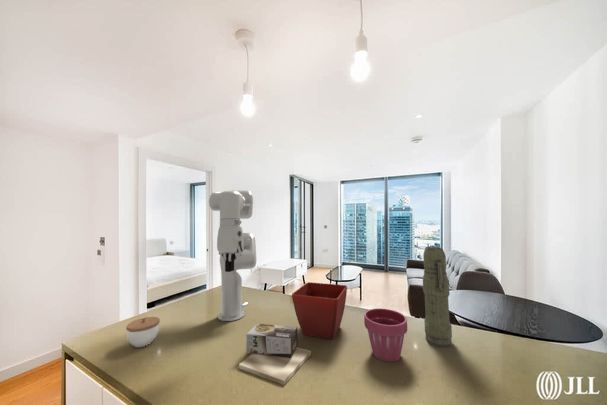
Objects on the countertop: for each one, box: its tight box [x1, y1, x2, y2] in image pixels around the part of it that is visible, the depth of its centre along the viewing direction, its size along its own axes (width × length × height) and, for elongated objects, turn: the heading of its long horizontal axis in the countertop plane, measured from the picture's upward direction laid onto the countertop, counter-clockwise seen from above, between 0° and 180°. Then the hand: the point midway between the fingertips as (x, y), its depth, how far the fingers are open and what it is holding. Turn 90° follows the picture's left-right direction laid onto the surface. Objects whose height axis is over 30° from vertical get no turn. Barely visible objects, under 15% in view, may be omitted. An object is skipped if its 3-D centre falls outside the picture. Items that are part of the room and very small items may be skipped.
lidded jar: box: [125, 316, 161, 348], centre depth 92 cm, size 11×11×9 cm
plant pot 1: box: [291, 281, 348, 340], centre depth 101 cm, size 19×19×17 cm
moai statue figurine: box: [422, 246, 453, 348], centre depth 92 cm, size 9×12×35 cm
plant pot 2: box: [363, 307, 408, 362], centre depth 82 cm, size 14×14×13 cm
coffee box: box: [245, 323, 299, 358], centre depth 84 cm, size 9×6×16 cm
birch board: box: [238, 346, 312, 386], centre depth 79 cm, size 17×17×1 cm
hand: (229, 271), depth 92 cm, fingers closed
